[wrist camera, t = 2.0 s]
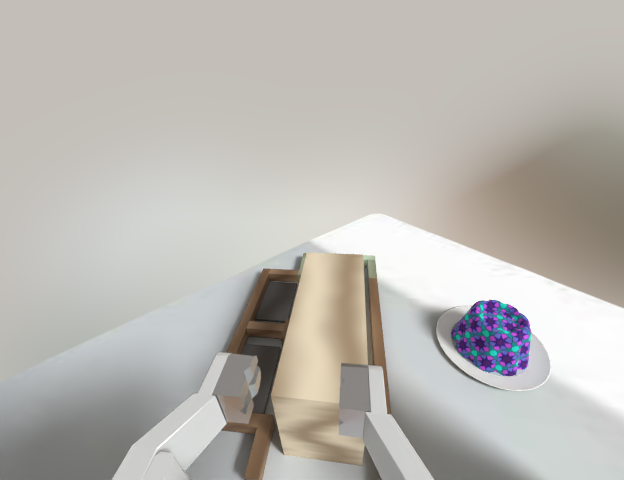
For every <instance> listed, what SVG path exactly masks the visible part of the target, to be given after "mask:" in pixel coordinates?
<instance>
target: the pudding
mask: <svg viewBox="0 0 624 480" xmlns="http://www.w3.org/2000/svg"><path fill="white" fill-rule="evenodd" d="M457 322H458V324H457V325H456V326H455V328H454V329H453V330H452V328H453V326H454V325H455V324H456V323H457ZM451 330H452V333H451ZM436 334H437V338H438V341H439V343H440V346H441V347H442V349H443V350H444V352H445V354H446V355H447V356H448V357H449V358H450V359H451V361H452V362H453V363H455V364H456V365H457V366H458V367H459V368H460V369H462V370H463V371H464V372H466V373H467V374H468V375H470V376H472V377H474V378H475V379H477V380H479V381H481V382H483V383H486V384H488V385H490V386H494V387H497V388H500V389H505V390H512V391H526V390H531V389H535V388H537V387H539V386H541V385H542V384H543V383H545V382H546V381H547V379H548V377H549V375H550V371H551V362H550V358H549V355H548V353H547V351H546V349H545V348H544V346H543V344H542V343H541V342H540V341H539V339H538V338H537V337H536V336H535V335H534V334H533V333H532V332H531V330H530V324H529V321H528V319H527V318H526V317H525V316H524V315H523V314H521V313H519V312H518V310H517V309H516V308H514V307H513V306H511V305H508V304H503V303H501V302H500V301H496V300H489V301H478V302H476V303H475V304H474V305H473V306H459V307H455V308H452V309H449V310H447V311H446V312H444V313H443V314H442V315H441V316H440V318H439V319H438V322H437V325H436ZM451 334H452V338H453V339H454V340H455V341H456V342H457V345H456V349H457V350H458V351H457V350H456V349H455V347H454V345H453V343H452V339H451ZM458 352H459V353H460V354H461V355H462V356H463V357H465V358H468V359H470V360H472V362H473V363H474V365H475V366H476V367H478V368H479V369H478V368H476V367H474V366H473V365H472V364H470V363H469V362H467V361H466V360H465V359H464V358H463V357H462V356H461V355H460V354H459V353H458ZM528 360H529V364H528ZM527 366H528V367H527ZM526 367H527V368H526ZM525 368H526V370H525V371H524V372H523V373H521V374H519V375H516V372H517V369H525ZM480 369H481V370H480ZM482 370H483V371H482ZM484 371H486V372H484ZM494 371H496V372H498V373H500V374H502V375H503V376H511V377H503V376H497V375H493V374H489V373H487V372H494ZM513 375H516V376H513Z"/></svg>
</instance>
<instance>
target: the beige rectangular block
mask: <svg viewBox="0 0 624 480" xmlns="http://www.w3.org/2000/svg"><path fill="white" fill-rule="evenodd" d="M341 363H350V364H365V365H368V355H367V332H366V308H365V285H364V262H363V255H355V254H330V253H307V254H306V258H305V262H304V266H303V270H302V274H301V278H300V282H299V286H298V290H297V294H296V298H295V302H294V306H293V310H292V313H291V317H290V321H289V325H288V329H287V333H286V337H285V341H284V345H283V349H282V353H281V357H280V361H279V365H278V369H277V373H276V377H275V381H274V385H273V389H272V393H271V399H272V403H273V408H274V412H275V417H276V421H277V426H278V430H279V435H280V439H281V444H282V448H283V452H284V455H288V456H296V457H303V458H310V459H318V460H325V461H332V462H339V463H347V464H354V465H361V466H362V463H363V455H364V447H365V444H364V441H363V438H357V437H351V436H344V435H339V399H340V374H341Z"/></svg>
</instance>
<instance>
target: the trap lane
mask: <svg viewBox="0 0 624 480" xmlns="http://www.w3.org/2000/svg"><path fill="white" fill-rule="evenodd" d="M306 254H307V253H304V254H303V257H302V261H301V265H300V269H299V270H282V269H263V271H262V273H261V275H260V278H259V280H258V282H257V285H256V287H255V289H254V291H253V294H252V296H251V298H250V300H249V303H248V305H247V307H246V310H245V312H244V314H243V316H242V319H241V321H240V323H239V325H238V328H237V330H236V332H235V334H234V337H233V339H232V341H231V344H230V346H229V348H228V350H227V353H232V354H243V355H253V356H257V359H258V363H257V366H258V367H259V368H260V371H261V380H260V386H259V390H258V393H257V394H256V395H255V396H254V397H253V398H252V400H253V403H254V407H253V410H252V414H251V417H250V420H249V424H245V423H234V422H226V423H227V424H226V425H225V426H224V427H223V428H222V429H221V430H225V431H233V432H240V433H248V434H255V437H254V441H253V445H252V449H251V452H250V456H249V460H248V464H247V467H246V471H245V475H244V478H245V480H262V478H263V473H264V469H265V464H266V460H267V455H268V451H269V446H270V442H271V437H272V433H273V428H274V424H275V422H274V418H273V415H267V414H264V412H265V408H266V404H267V400H268V396H269V392H270V388H271V384H272V380H273V377H274V373H275V369H276V365H277V361H278V357H279V353H280V349H281V348H280V347H271V346H259V345H247V344H245V343H246V341H247V338H248V336H254V337H267V338H279V339H282V345H284V341H285V337H286V333H287V329H288V325H289V321H290V319H289V314H290V311H291V307H292V303H293V299H294V295H295V291H296V287H297V283H284V282H269V281H286V282H300V278H301V274H302V270H303V266H304V262H305V258H306ZM363 262H364V267H367V270H368V286H369V302H370V318H371V334H372V350H373V366H382V369H383V376H384V386H385V397H386V407H387V414H390V415H391V409H390V399H389V389H388V380H387V370H386V360H385V351H384V341H383V332H382V322H381V312H380V303H379V293H378V283H377V274H376V264H375V256H367V255H363ZM254 320H260V321H273V322H285V324H283V323H269V322H255V321H254ZM380 479H381V477H380ZM381 480H382V479H381Z"/></svg>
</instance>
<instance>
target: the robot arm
mask: <svg viewBox="0 0 624 480" xmlns="http://www.w3.org/2000/svg"><path fill="white" fill-rule="evenodd" d="M257 363H258V359H257V356H253V355H243V354H232V353H222V352H218V354H217V355H216V356H215V358H214V360H213V362H212V364H211V366H210V368H209V370H208V372H207V374H206V376H205V379H204V381H203V383H202V385H201V387H200V389H199V391H198V393H193V394H192V395H191V396H190V397H189V398H187V399H186V400H185V401H184V402H183V403H182V404H180V405H179V406H178V407H177V408H176V409H174V410H173V411H172V412H171V413H170V414H169V415H167V416H166V417H165V418H164V419H163V420H161V421H160V422H159V423H158V424H157V425H156V426H154V427H153V428H152V429H151V430H150V431H148V432H147V433H146V434H145V435H144V436H143V437H141V438H140V439H139V440H138V441H137V442H135V443H134V444H133V445H132V446H131V448H130V449H129V451H128V453H127V455H126V456H125V458H124V460H123V461H122V463H121V465H120V467H119V468H118V470H117V472H116V473H115V475H114V477H113V479H112V480H191V479H190V477H189V476H188V474H187V473H186V472H185V471H186V470H187V469H188V468H189V466H190V465H191V464H192V463H193V462H194V461H195V459H196V458H197V457H198V456H199V455H200V454H201V453H202V451H203V450H204V449H205V448H206V447H207V446H208V444H209V443H210V442H211V441H212V440H213V439H214V438H215V436H216V435H217V434H218V433H219V432H220V431H221V429H222V428H223V427H224V426H225V425H226V424H227V423H226V422H234V423H245V424H249V420H250V417H251V414H252V410H253V407H254V403H253V400H252V398H253V397H254V396H255V395H256V394H257V393H258V390H259V386H260V380H261V371H260V368H259V367H258V366H257ZM339 435H344V436H351V437H357V438H363V441H364V444H365V446H366V448H367V450H368V452H369V454H370V456H371V458H372V460H373V462H374V464H375V466H376V468H377V470H378V472H379V475H380V477H381V479H382V480H434V478H433V477H432V475H431V474H430V472H429V471H428V469H427V468H426V466H425V465H424V463H423V462H422V460H421V459H420V457H419V456H418V454H417V453H416V451H415V450H414V448H413V447H412V445H411V444H410V442H409V440H408V439H407V437H406V436H405V434H404V433H403V431H402V430H401V428H400V427H399V425H398V424H397V422H396V421H395V419H394V418H393V416H392V415H390V414H387V407H386V397H385V386H384V376H383V369H382V366H373V365H365V364H350V363H341V374H340V399H339Z"/></svg>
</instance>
